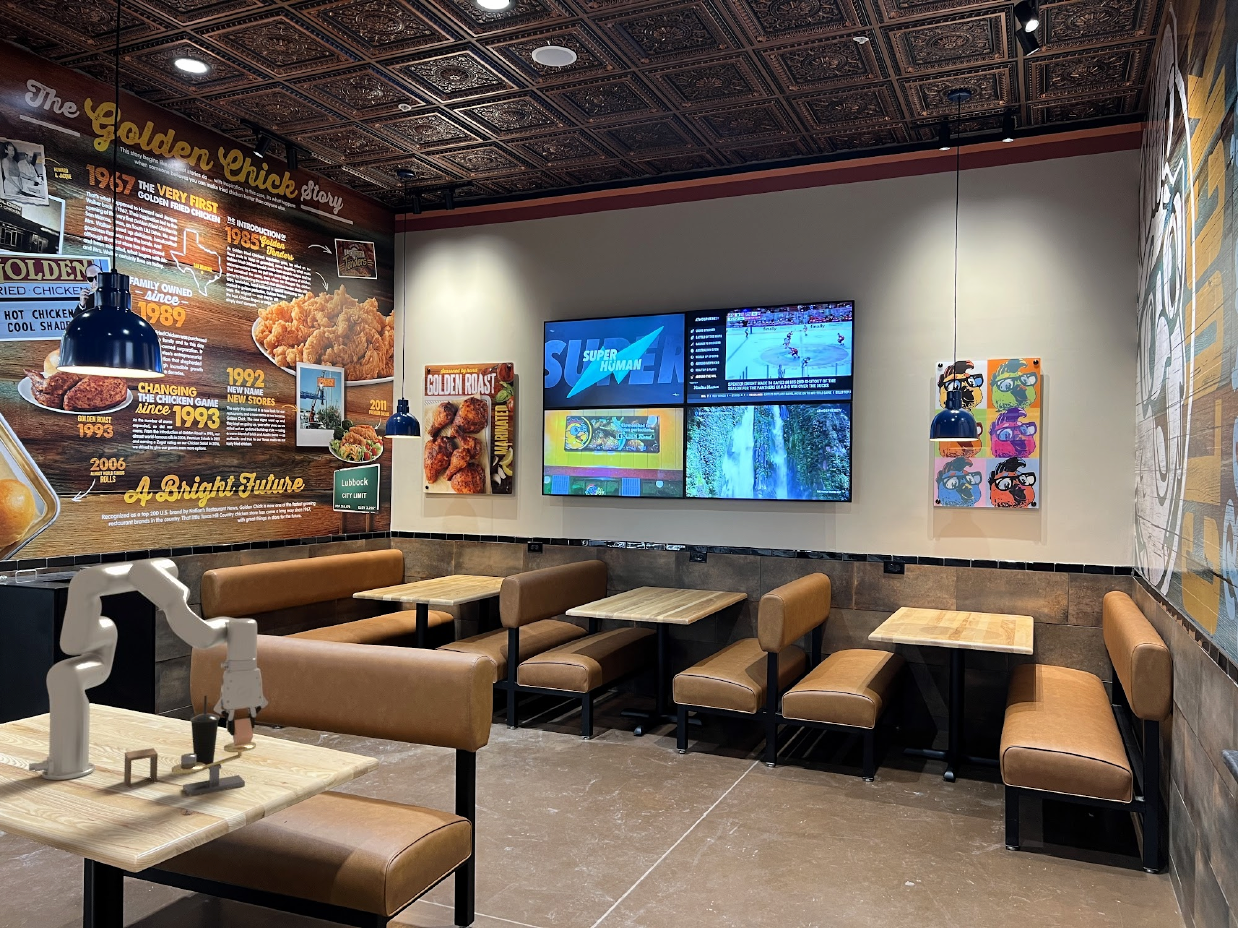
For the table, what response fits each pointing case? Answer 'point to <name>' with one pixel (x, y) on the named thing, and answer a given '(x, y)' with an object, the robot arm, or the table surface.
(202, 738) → the drinking cup
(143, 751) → the arch
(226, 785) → the balance
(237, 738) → the block
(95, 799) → the table surface
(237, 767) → the table surface
